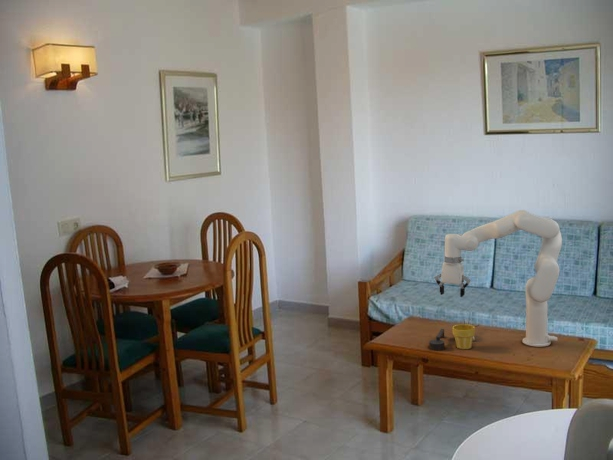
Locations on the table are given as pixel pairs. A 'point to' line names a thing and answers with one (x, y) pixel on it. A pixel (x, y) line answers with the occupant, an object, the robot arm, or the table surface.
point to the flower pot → (463, 335)
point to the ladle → (437, 342)
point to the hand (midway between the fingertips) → (452, 295)
